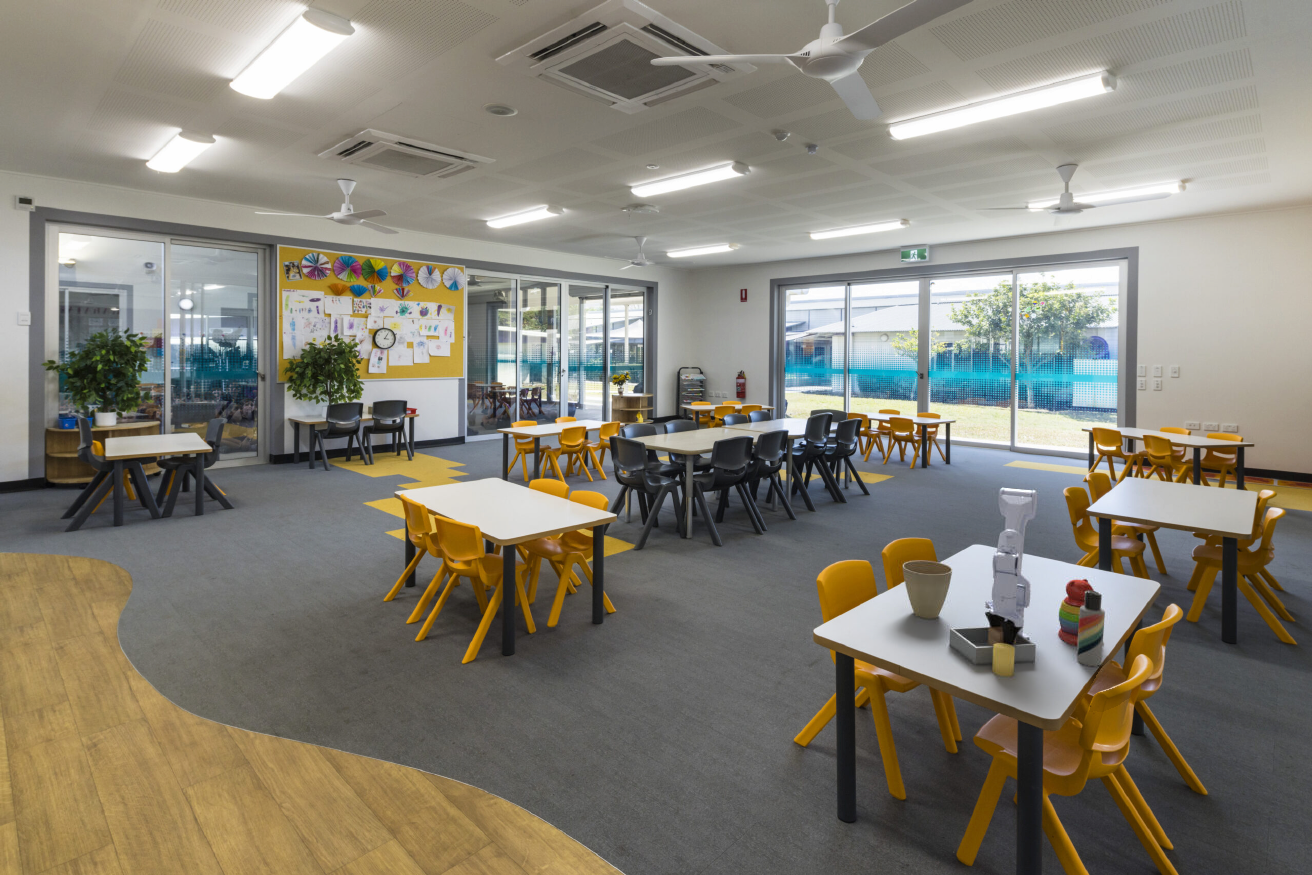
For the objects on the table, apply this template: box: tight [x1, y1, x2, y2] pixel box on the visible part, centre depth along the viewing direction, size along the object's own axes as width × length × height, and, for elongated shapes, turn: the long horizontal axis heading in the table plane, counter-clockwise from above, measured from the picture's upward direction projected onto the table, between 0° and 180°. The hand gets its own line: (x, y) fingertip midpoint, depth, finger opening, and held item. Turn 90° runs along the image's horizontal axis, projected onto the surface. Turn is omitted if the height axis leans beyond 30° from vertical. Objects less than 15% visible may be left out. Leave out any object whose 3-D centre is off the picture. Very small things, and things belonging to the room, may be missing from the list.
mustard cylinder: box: [991, 643, 1015, 678], centre depth 177 cm, size 5×5×7 cm
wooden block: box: [988, 627, 1016, 646], centre depth 188 cm, size 5×5×5 cm
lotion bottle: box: [1076, 590, 1106, 667], centre depth 181 cm, size 6×6×20 cm
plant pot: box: [902, 560, 953, 620], centre depth 216 cm, size 15×15×16 cm
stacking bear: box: [1057, 578, 1095, 647], centre depth 197 cm, size 11×10×18 cm
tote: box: [949, 625, 1037, 666], centre depth 188 cm, size 17×13×5 cm
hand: (1002, 641), depth 188 cm, fingers closed on wooden block, 5 cm apart
